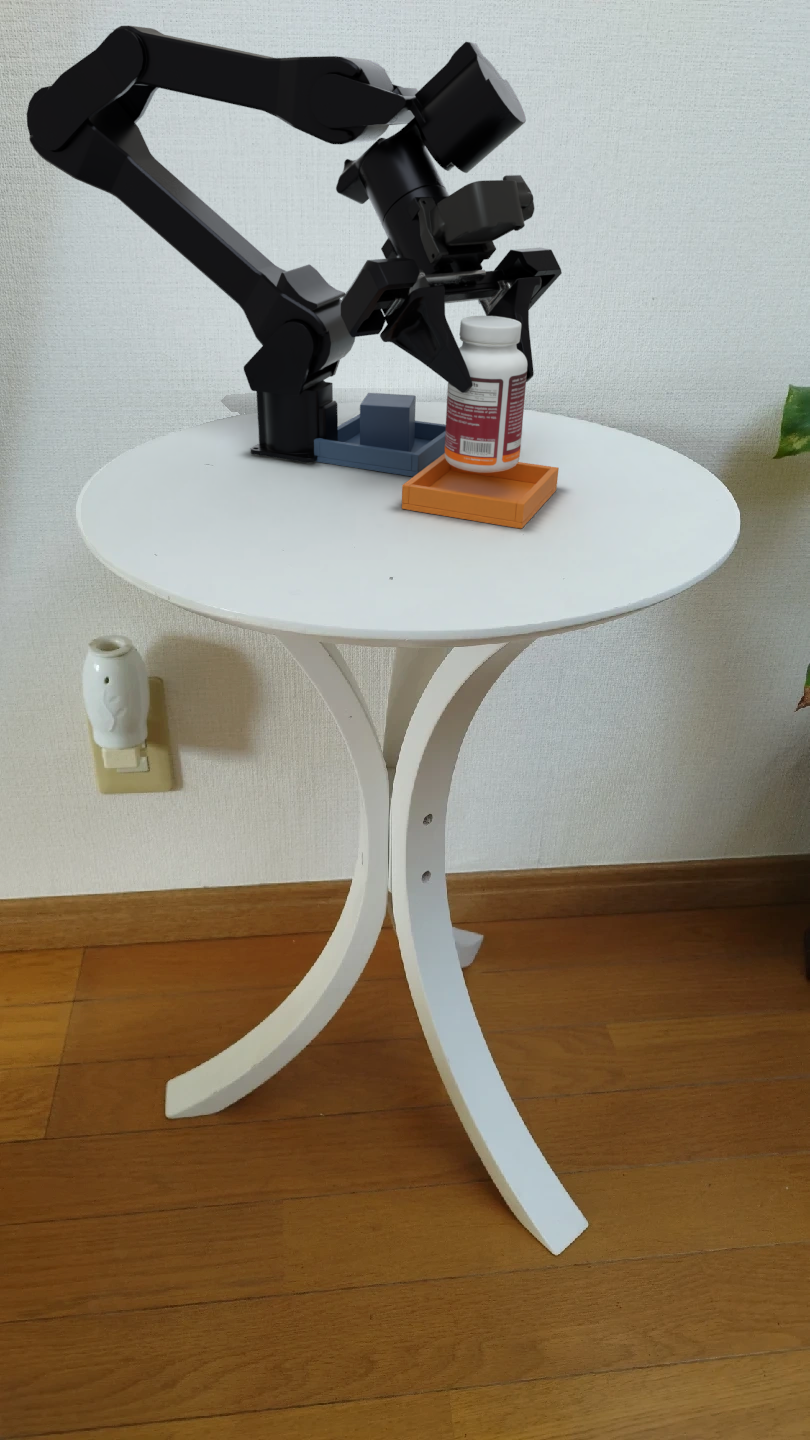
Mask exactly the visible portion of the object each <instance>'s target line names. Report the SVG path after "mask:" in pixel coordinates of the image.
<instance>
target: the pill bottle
mask: <svg viewBox="0 0 810 1440" xmlns="http://www.w3.org/2000/svg"><path fill="white" fill-rule="evenodd" d="M459 324H460V325H459V334H458V335H459V340H460V341H461V342H462V344H461V346H459V350H460V352H461V354H462V356H463V359H464V361H465V363H466V366H467V368H468V371H469V374H470V377H471V380H472V387H471V388H470V389H469V391H468V392H466V393H462V392H460V391H459V390H458V389H456V388H455V387H454V386H452V385H451V384H450V383H448V382H447V393H446V413H445V425H446V432H445V459H446V461H447V462H448V463H449V464H450V465H452V466H454V467H456V468H459V469H462V470H466V471H471V472H479V473H492V472H500V471H505V470H508V469H510V468H513V467H514V466H515V465H516V464H517V463H518V462H520V457H521V447H522V435H523V422H524V412H525V411H524V410H525V408H524V407H525V398H526V387H527V382H526V377H527V359H526V357H525V355H524V354H523V353H522V352H521V351H519V350H518V349H517V346H516V344H517V343H519V342H520V335H521V323H520V322H519V321H517V320H514V319H510V318H505V317H498V316H486V315H472V316H466V317H463V318H462V319H461V320H460V323H459Z"/></svg>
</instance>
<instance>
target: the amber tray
mask: <svg viewBox="0 0 810 1440" xmlns="http://www.w3.org/2000/svg"><path fill="white" fill-rule="evenodd" d="M558 477H559V467H557V466H549V465H543V464H535V463H530V462H529V463H528V462H523V461H518V463H517V464H516V465H515V466H514V467H513V468H510V469H508V470H505V471H500V472H492V473H479V472H471V471H466V470H462V469H459V468H456V467H454V466H452V465H450V464H449V463H448V462H447V461H446V459H445V453H444V454H443V455H441V456H440V457H439V458H438V459H436V460H435V461H434V462H432V463H431V464H430V465H428V466H427V467H426V468H424V469H423V470H422V471H420V472H419V473H418V474H416V475H415V476H414V477H412V476H411V478H410V479H408V480H407V481H406V482H404V483H403V484H402V487H401V509H402V510H407V511H412V512H419V513H424V514H425V513H426V514H431V515H437V516H444V517H449V518H455V519H460V520H461V519H462V520H467V521H474V522H479V523H486V524H491V525H498V526H503V527H509V528H514V529H515V528H516V529H523V528H524V527H525V526H526V525H527V524H528V522H530V521H531V519H532V518H533V517H534V516H535V515H536V514H537V512H538V511H539V510H540V509H541V508H542V507H543V506H544V505H545V504H546V502H548V500H549V499H550V498H551V497H552V496H553V495H554V493H555V492H556V491H557V488H558V487H557V486H558V480H559V479H558Z"/></svg>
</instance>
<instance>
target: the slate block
mask: <svg viewBox="0 0 810 1440" xmlns="http://www.w3.org/2000/svg"><path fill="white" fill-rule="evenodd" d="M416 399H417V396H416V395H415V394H414V395H413V394H398V393H397V394H396V393H380V392H379V393H378V392H367V393H366V395H365V397H364V399H362V401H361V403H360V404H359V414H360V445H366V446H373V447H380V448H387V449H393V450H400V451H407V452H411V449H412V447H413V445H414V439H415V421H416Z"/></svg>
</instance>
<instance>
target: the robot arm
mask: <svg viewBox="0 0 810 1440" xmlns="http://www.w3.org/2000/svg"><path fill="white" fill-rule="evenodd" d="M159 89H162V90H167V91H172V92H176V93H181V94H185V95H190V96H195V97H199V98H203V99H208V100H211V101H216V102H221V103H226V104H231V105H235V106H239V107H244V108H249V109H253V110H258V111H263V112H265V113H267V114H270V115H272V116H274V117H276V118H278V119H279V120H281V121H283V122H284V123H286V124H287V125H289V126H290V127H292V128H293V129H295V130H296V129H297V130H299V131H300V132H303V133H305V134H307V135H310V136H312V137H313V138H316V139H319V140H321V141H323V142H325V143H328V144H330V145H350V144H351V145H353V144H363V143H364V144H366V143H371V142H374V141H375V142H374V143H373V144H372V145H370V146H369V148H367V149H366V150H365V151H364V152H363V153H362V154H361V155H360V156H359V157H358V158H356V159H349V158H346V159H345V160H344V162H343V169H342V171H341V173H340V175H339V177H338V180H337V183H336V186H335V190H336V193H337V194H339V195H341V196H343V197H346V198H347V199H349V200H351V201H353V202H355V203H358V204H360V205H363V204H365V203H366V202H367V201H368V200H369V201H370V204H371V206H372V208H373V210H374V213H375V214H376V216H377V218H378V220H379V222H380V225H381V227H382V229H383V231H384V233H385V235H386V237H387V239H386V240H385V242H384V243H383V245H382V246H381V248H380V250H381V252H382V255H383V256H384V258H377V259H367V260H366V261H365V263H364V264H363V266H362V267H361V269H360V271H359V272H358V274H357V275H356V277H355V278H354V280H353V281H352V283H351V285H349V287H348V289H347V291H341V290H339V289H336V288H335V287H333V286H332V285H331V284H330V283H328V281H327V280H326V279H325V278H324V277H323V276H322V275H321V273H320V272H319V271H318V270H317V268H315V267H314V266H313V265H311V264H305V265H302V266H299V267H296V268H293V269H289V270H286V269H283V268H280V267H279V266H277V265H276V264H274V263H273V262H272V260H270V259H269V258H268V257H266V256H265V255H264V254H263V252H261V251H260V250H259V249H258V248H257V247H255V246H254V245H253V244H252V243H251V242H250V241H248V239H247V238H245V237H244V236H243V235H242V234H240V233H239V232H238V231H237V230H236V229H235V228H234V227H233V226H232V225H230V223H228V222H227V221H226V220H225V219H223V217H221V216H220V215H219V214H218V213H217V212H216V211H215V210H214V209H213V208H211V207H210V206H209V205H208V204H207V203H206V202H205V201H204V200H203V199H201V198H200V197H199V196H198V195H196V194H195V193H194V192H193V191H192V190H191V189H190V188H189V187H188V186H187V185H186V184H184V183H183V182H182V181H181V180H180V179H179V178H177V177H176V175H174V174H173V173H172V172H171V171H170V170H168V168H166V167H165V166H164V165H163V164H162V163H160V162H159V161H158V160H157V159H156V157H155V156H153V154H152V153H151V151H150V149H149V147H148V145H147V142H146V140H145V138H144V136H143V134H142V132H141V130H140V128H139V126H138V125H137V122H139V121H140V120H141V118H143V116H144V115H145V113H146V111H147V109H148V107H149V105H150V103H151V101H152V99H153V97H154V95H155V93H156V92H157V91H158V90H159ZM526 121H527V118H526V114H525V111H524V107H523V106H522V104H521V101H520V99H519V98H518V96H517V94H516V92H515V90H514V88H513V87H512V86H511V84H510V82H509V80H508V79H504V78H503V77H502V76H501V74H500V72H499V71H498V70H497V69H496V67H495V66H494V65H493V64H492V63H491V62H490V60H488V58H486V56H485V55H484V54H483V52H482V51H481V49H480V48H479V46H478V44H477V43H476V42H470V41H465V42H464V43H462V44H461V45H460V47H459V48H457V50H455V51H454V52H453V54H452V55H451V56H450V58H449V60H448V61H447V63H446V64H445V65H444V66H443V67H442V68H441V69H440V70H439V71H437V73H436V74H435V75H433V77H431V78H430V79H429V80H428V81H427V82H426V83H425V84H424V85H423V86H422V87H421V88H420V89H419V90H418V89H417V88H416V87H404V86H400V85H398V84H396V83H395V84H394V83H393V81H392V80H391V78H390V76H389V75H388V73H387V71H386V69H385V68H384V67H383V66H382V65H380V64H379V63H377V62H375V61H373V60H371V59H365V58H356V57H355V58H354V57H345V56H338V55H337V56H336V55H332V56H331V55H329V56H327V55H325V56H292V57H291V56H290V57H273V56H270V55H264V54H258V53H253V52H249V51H245V50H240V49H235V48H231V47H225V46H220V45H217V44H211V43H206V42H201V41H196V40H191V39H187V38H182V37H178V36H172V35H168V34H165V33H163V32H160V31H159V30H157V29H155V28H152V27H144V26H135V25H120V26H118V27H116V28H115V29H113V30H112V31H111V32H109V34H108V35H107V36H106V37H105V39H104V40H103V41H102V42H101V43H100V44H99V45H98V46H97V48H95V49H94V50H93V51H91V52H89V54H87V55H86V56H84V57H83V58H82V59H80V60H79V61H77V62H76V63H74V64H73V65H72V66H71V67H69V68H68V69H66V70H65V71H64V72H62V74H61V73H60V75H59V76H58V78H56V80H55V81H54V82H53V83H52V84H51V85H49V86H44V87H40V88H39V89H38V90H36V91H35V92H34V93H33V95H32V96H31V98H30V100H29V102H28V106H27V109H26V127H27V131H28V133H29V138H28V139H29V143H30V145H31V146H32V149H34V151H35V152H36V153H37V154H38V156H39V157H40V158H42V159H43V160H44V161H46V162H47V163H49V164H50V165H52V166H53V167H54V168H56V169H59V170H60V171H61V172H63V173H65V174H66V175H68V176H69V177H71V178H73V179H75V180H76V181H78V182H82V183H83V184H85V185H89V186H91V187H93V188H96V189H98V190H100V191H102V192H105V193H107V194H110V195H111V196H113V197H115V198H117V200H119V201H120V202H121V203H122V204H123V205H124V206H126V207H127V209H129V210H130V211H131V212H132V213H133V214H135V215H136V216H137V217H138V218H139V219H140V220H142V221H143V222H144V223H145V224H146V225H147V226H148V227H149V228H151V230H153V231H154V232H155V233H157V234H158V235H159V236H160V237H161V238H162V239H163V240H164V241H166V243H168V244H169V245H170V246H171V247H172V248H174V249H175V250H176V251H177V252H178V253H179V254H180V255H181V256H182V257H183V258H185V259H186V260H187V261H188V262H189V263H191V264H192V265H193V266H194V267H195V268H196V269H197V270H199V272H201V273H202V274H203V275H204V276H205V277H207V279H209V280H210V282H212V283H213V284H214V285H216V286H217V287H218V288H219V289H220V290H221V291H223V293H225V294H226V295H227V296H228V297H229V298H231V300H232V301H234V302H235V303H236V304H237V305H238V306H239V308H241V310H242V311H243V313H244V316H245V318H246V320H247V322H248V324H249V326H250V328H251V331H252V332H253V335H254V337H255V338H256V340H257V341H258V342H259V343H260V344H261V346H260V348H259V349H258V351H256V352H255V353H254V355H253V356H252V357H251V358H250V359H249V360H248V361H247V362H246V363H245V364H244V366H243V371H244V375H245V378H246V380H247V383H248V386H249V388H250V390H251V391H252V392H255V393H256V411H257V425H258V426H257V428H258V429H257V430H258V443H257V444H255V445H254V446H252V447H250V450H249V451H250V454H251V455H254V456H255V455H256V456H260V457H261V456H262V457H270V458H275V459H282V460H286V461H287V460H288V461H292V462H293V461H294V462H301V463H308V464H313V463H315V462H316V460H317V457H318V456H317V455H314V440H315V439H317V438H322V439H325V440H332V441H338V426H339V424H338V423H339V422H338V421H339V420H338V417H339V416H338V402H337V400H334V398H333V397H334V392H333V391H334V390H333V385H334V384H333V382H329V381H325V380H326V379H328V378H330V377H331V378H332V377H334V376H335V375H336V373H337V371H338V367H339V364H340V361H341V360H342V359H343V358H345V357H346V356H347V355H348V354H349V353H350V351H352V348H353V345H354V343H355V342H356V338H358V337H366V336H375V335H379V337H380V339H381V341H383V342H384V343H392V344H393V345H395V346H397V347H398V348H400V349H401V350H403V351H404V352H405V353H407V354H408V355H410V356H412V357H413V358H415V359H416V360H417V361H419V362H421V363H422V364H423V365H425V366H426V367H428V368H429V369H430V370H431V371H433V372H434V373H435V374H437V375H438V376H439V377H441V378H442V379H443V380H444V381H446V382H447V384H448V383H450V384H451V385H452V386H454V387H455V388H456V389H458V390H459V391H460V392H462V393H466V392H468V391H469V389H470V388H471V387H472V380H471V377H470V374H469V371H468V368H467V366H466V363H465V361H464V359H463V356H462V354H461V352H460V350H459V348H460V346H459V345H458V343H457V341H456V339H455V336H454V333H453V332H452V330H451V327H450V325H449V323H448V320H447V317H446V304H454V303H462V302H470V301H473V302H474V301H477V303H478V304H479V305H480V306H481V307H482V308H481V309H482V311H483V312H484V315H485V316H498V317H505V318H510V319H514V320H517V321H519V322H520V323H521V335H520V342H519V343H517V344H516V346H517V349H518V350H519V351H521V352H522V353H523V354H524V355H525V357H526V359H527V377H526V383H528V382H529V381H530V380H531V379H532V378H533V377H534V375H535V373H534V371H535V370H534V361H533V354H532V346H531V345H532V343H531V335H530V310H531V308H533V306H534V305H536V303H537V302H538V301H539V299H540V298H541V297H542V296H543V295H544V294H545V293H546V291H548V289H550V287H551V286H552V285H553V284H554V283H555V281H556V280H557V279H559V277H560V276H561V275H562V274H563V272H562V268H561V267H560V264H559V262H558V260H557V258H556V256H555V254H554V252H553V250H552V249H550V248H544V247H529V248H515V249H509V251H508V252H507V253H506V255H504V257H503V258H502V259H501V261H500V262H499V263H498V265H496V267H495V268H494V269H493V270H485V269H483V266H482V263H483V262H484V261H485V260H489V259H490V258H491V257H492V256H493V254H494V253H495V252H496V250H497V247H496V245H495V243H494V241H495V240H497V239H500V238H501V237H503V236H505V235H507V234H509V233H510V232H512V231H515V232H518V231H520V230H522V229H523V228H524V227H525V225H526V224H525V221H528V220H529V219H532V218H533V216H534V213H535V203H534V195H533V193H532V190H531V189H530V187H529V186H528V184H527V182H526V181H525V179H524V178H523V176H522V175H521V174H516V175H515V174H510V175H507V174H506V175H504V176H503V177H502V179H495V180H494V179H493V180H492V179H491V180H477V181H473V182H469V183H467V184H466V185H464V186H462V187H461V188H459V189H458V190H456V191H454V192H453V193H450V194H449V192H448V190H447V188H446V186H445V183H444V181H443V180H442V177H441V175H440V174H439V173H440V172H439V171H438V169H437V166H436V164H435V163H434V161H435V162H436V163H437V164H438V165H439V166H440V167H441V168H442V169H443V170H444V171H447V172H450V171H451V170H452V169H453V168H454V167H455V168H456V169H458V170H459V171H461V172H462V173H465V174H468V173H469V172H470V171H472V170H473V169H474V168H475V167H476V166H477V165H479V163H480V162H482V161H483V160H484V159H485V158H486V157H488V156H489V155H490V154H491V153H492V152H493V151H495V149H497V148H498V147H499V146H500V145H501V144H502V143H503V142H505V141H506V140H507V139H508V138H509V137H510V136H512V134H514V133H515V132H516V131H518V130H519V128H521V127H522V126H523V125H524V124H525V123H526ZM395 125H397V126H398V125H404V126H403V127H402V128H401V129H400V130H399V131H397V132H396V133H394V134H393V135H391V136H389V137H387V138H385V137H381V136H382V135H383V134H384V133H386V132H387V130H388V128H389V127H390V126H395ZM432 158H433V159H432ZM433 160H434V161H433ZM385 323H386V326H385ZM384 326H385V327H384Z"/></svg>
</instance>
